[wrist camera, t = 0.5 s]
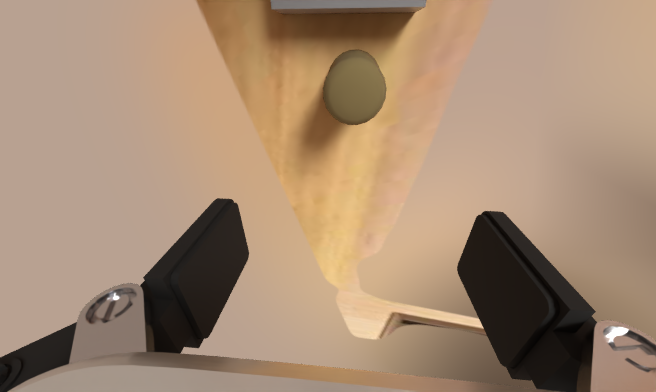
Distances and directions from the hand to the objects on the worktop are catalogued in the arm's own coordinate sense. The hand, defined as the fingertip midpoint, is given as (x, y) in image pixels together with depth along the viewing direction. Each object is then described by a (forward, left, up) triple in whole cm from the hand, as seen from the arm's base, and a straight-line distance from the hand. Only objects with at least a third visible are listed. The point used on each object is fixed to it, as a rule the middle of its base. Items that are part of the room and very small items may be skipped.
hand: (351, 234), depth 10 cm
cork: (-3, 0, -24) cm, 24 cm away
